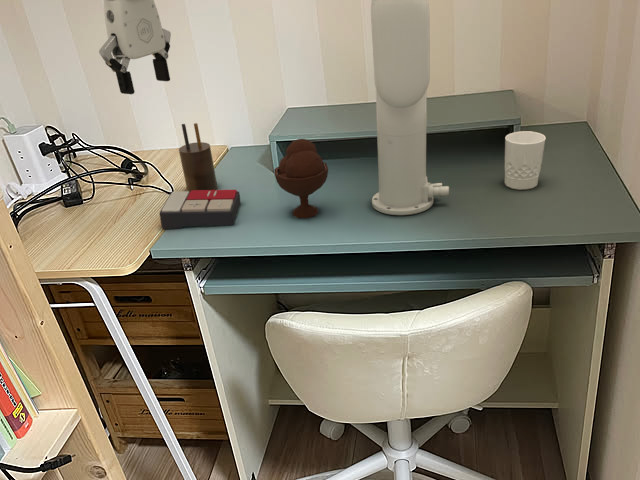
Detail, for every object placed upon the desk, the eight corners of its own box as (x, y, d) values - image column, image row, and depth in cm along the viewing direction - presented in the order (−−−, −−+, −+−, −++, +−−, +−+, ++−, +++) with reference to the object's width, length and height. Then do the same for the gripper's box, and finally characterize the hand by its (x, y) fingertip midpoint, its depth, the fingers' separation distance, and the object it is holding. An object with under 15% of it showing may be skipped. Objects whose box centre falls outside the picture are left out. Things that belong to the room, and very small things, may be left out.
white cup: (526, 194, 132) (530, 146, 126) (494, 185, 137) (497, 139, 132) (548, 182, 136) (553, 135, 130) (516, 174, 141) (520, 128, 136)
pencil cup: (220, 183, 152) (209, 117, 143) (213, 194, 146) (200, 126, 137) (192, 184, 153) (178, 118, 144) (183, 196, 147) (169, 128, 138)
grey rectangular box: (231, 208, 129) (158, 209, 130) (234, 228, 132) (161, 229, 132) (239, 187, 138) (170, 188, 139) (241, 206, 141) (173, 207, 141)
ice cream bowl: (271, 210, 136) (262, 140, 128) (320, 198, 139) (314, 129, 131) (289, 228, 128) (280, 155, 119) (340, 215, 131) (335, 143, 123)
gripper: (102, -5, 107) (127, 100, 116) (173, -19, 119) (190, 77, 128) (72, -5, 110) (98, 97, 120) (144, -19, 122) (162, 75, 132)
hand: (146, 86), depth 124 cm, fingers open, 9 cm apart
